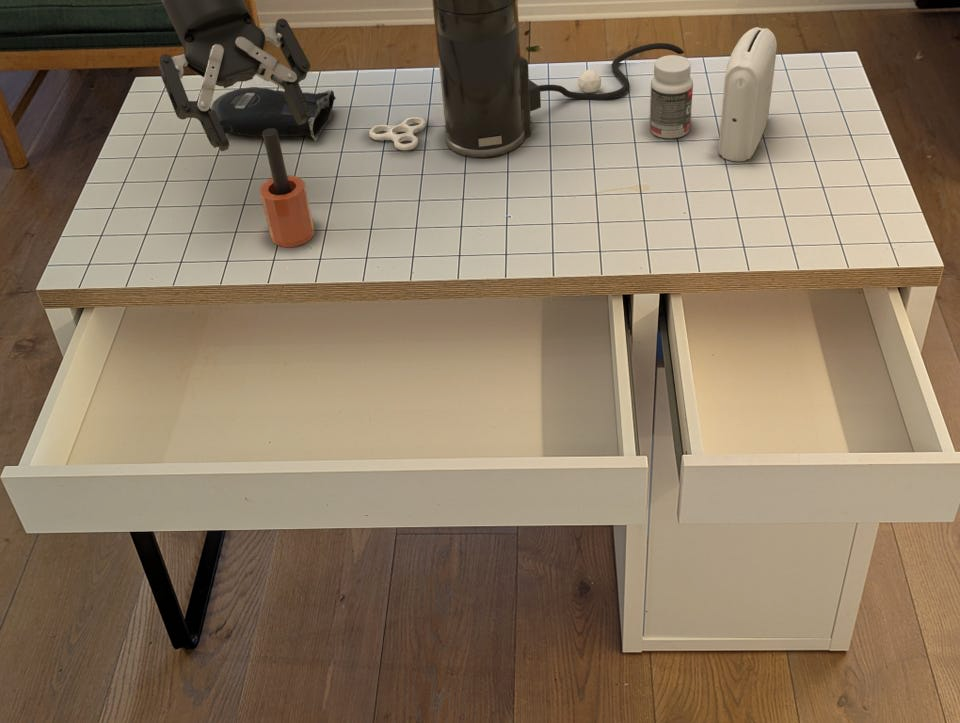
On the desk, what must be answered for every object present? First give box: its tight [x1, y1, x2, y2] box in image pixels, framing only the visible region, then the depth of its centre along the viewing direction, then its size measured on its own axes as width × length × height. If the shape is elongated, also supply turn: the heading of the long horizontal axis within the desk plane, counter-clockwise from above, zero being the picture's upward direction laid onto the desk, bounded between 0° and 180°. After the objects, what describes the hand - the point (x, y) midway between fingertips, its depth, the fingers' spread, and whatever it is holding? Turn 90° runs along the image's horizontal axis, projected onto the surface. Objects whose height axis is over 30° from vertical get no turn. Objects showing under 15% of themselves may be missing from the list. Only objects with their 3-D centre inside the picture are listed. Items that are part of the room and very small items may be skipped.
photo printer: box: [718, 26, 778, 162], centre depth 119 cm, size 10×4×12 cm, turn 157°
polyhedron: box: [577, 69, 602, 94], centre depth 133 cm, size 3×3×3 cm
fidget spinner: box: [368, 116, 427, 151], centre depth 128 cm, size 7×6×1 cm
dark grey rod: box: [262, 128, 291, 195], centre depth 111 cm, size 2×2×12 cm
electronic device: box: [210, 86, 337, 142], centre depth 133 cm, size 9×6×15 cm
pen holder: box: [259, 174, 315, 248], centre depth 113 cm, size 5×5×6 cm
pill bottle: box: [648, 54, 694, 139], centre depth 123 cm, size 5×5×8 cm
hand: (265, 134), depth 109 cm, fingers open, 8 cm apart
